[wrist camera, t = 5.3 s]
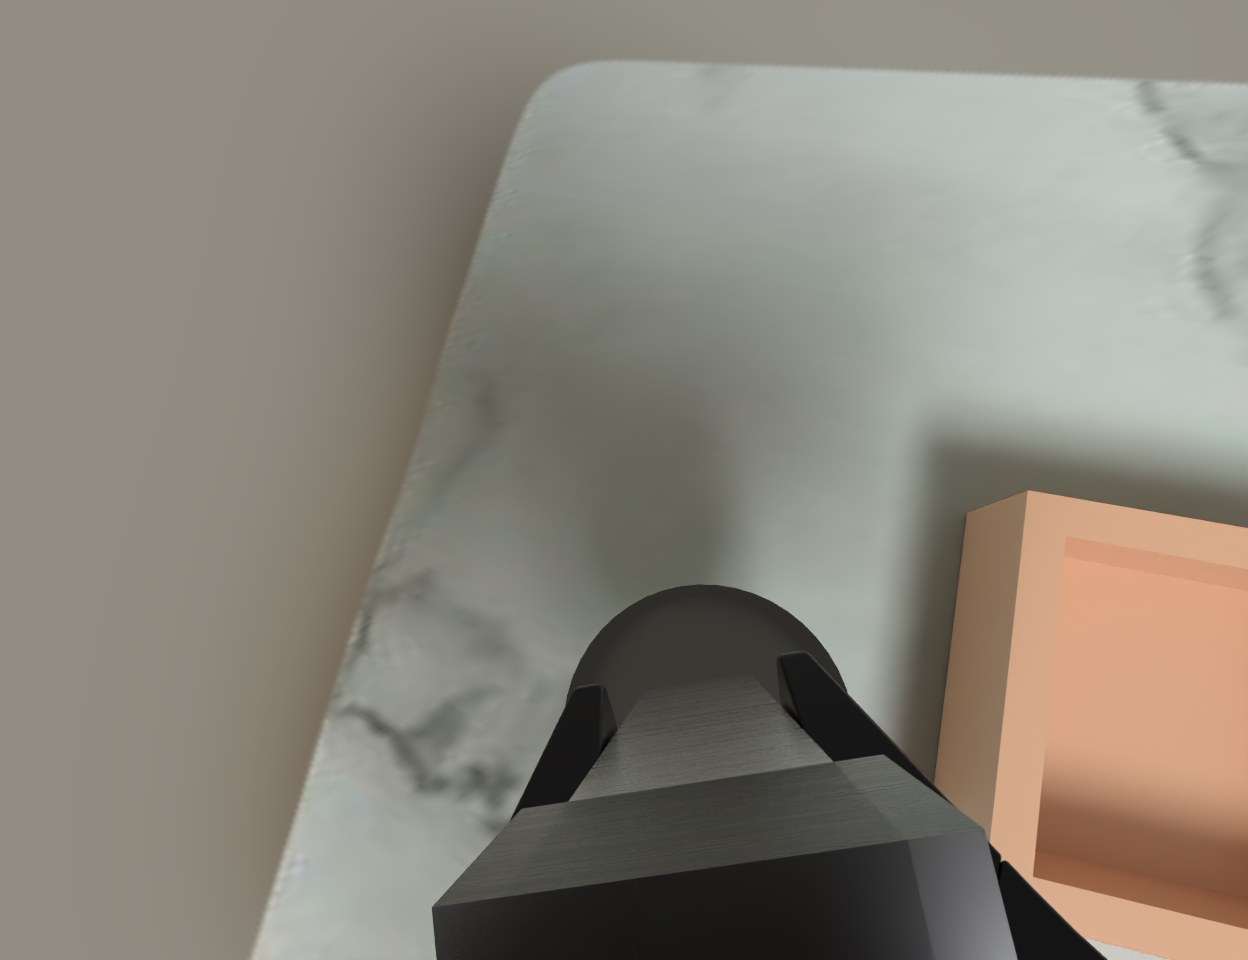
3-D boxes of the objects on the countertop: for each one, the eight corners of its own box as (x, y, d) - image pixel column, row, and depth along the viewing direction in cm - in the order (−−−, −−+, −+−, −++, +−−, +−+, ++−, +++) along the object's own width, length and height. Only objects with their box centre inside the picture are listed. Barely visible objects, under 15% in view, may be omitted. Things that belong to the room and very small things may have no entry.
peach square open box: (1313, 947, 18) (1481, 1038, 14) (925, 852, 20) (982, 912, 16) (1325, 576, 20) (1479, 568, 16) (967, 512, 21) (1027, 490, 17)
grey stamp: (869, 843, 15) (1659, 1883, 3) (596, 882, 15) (200, 1933, 3) (808, 567, 16) (1158, 414, 4) (558, 610, 17) (170, 591, 4)
